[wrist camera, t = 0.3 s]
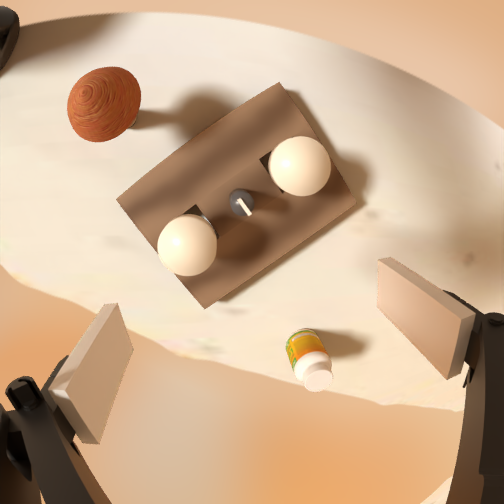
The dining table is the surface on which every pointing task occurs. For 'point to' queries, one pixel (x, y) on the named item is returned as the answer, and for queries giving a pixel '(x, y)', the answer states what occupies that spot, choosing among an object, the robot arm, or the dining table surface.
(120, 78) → the mushroom
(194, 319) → the dining table surface
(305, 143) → the knob
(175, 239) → the knob
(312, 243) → the dining table surface
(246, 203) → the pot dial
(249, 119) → the console
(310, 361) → the supplement bottle
